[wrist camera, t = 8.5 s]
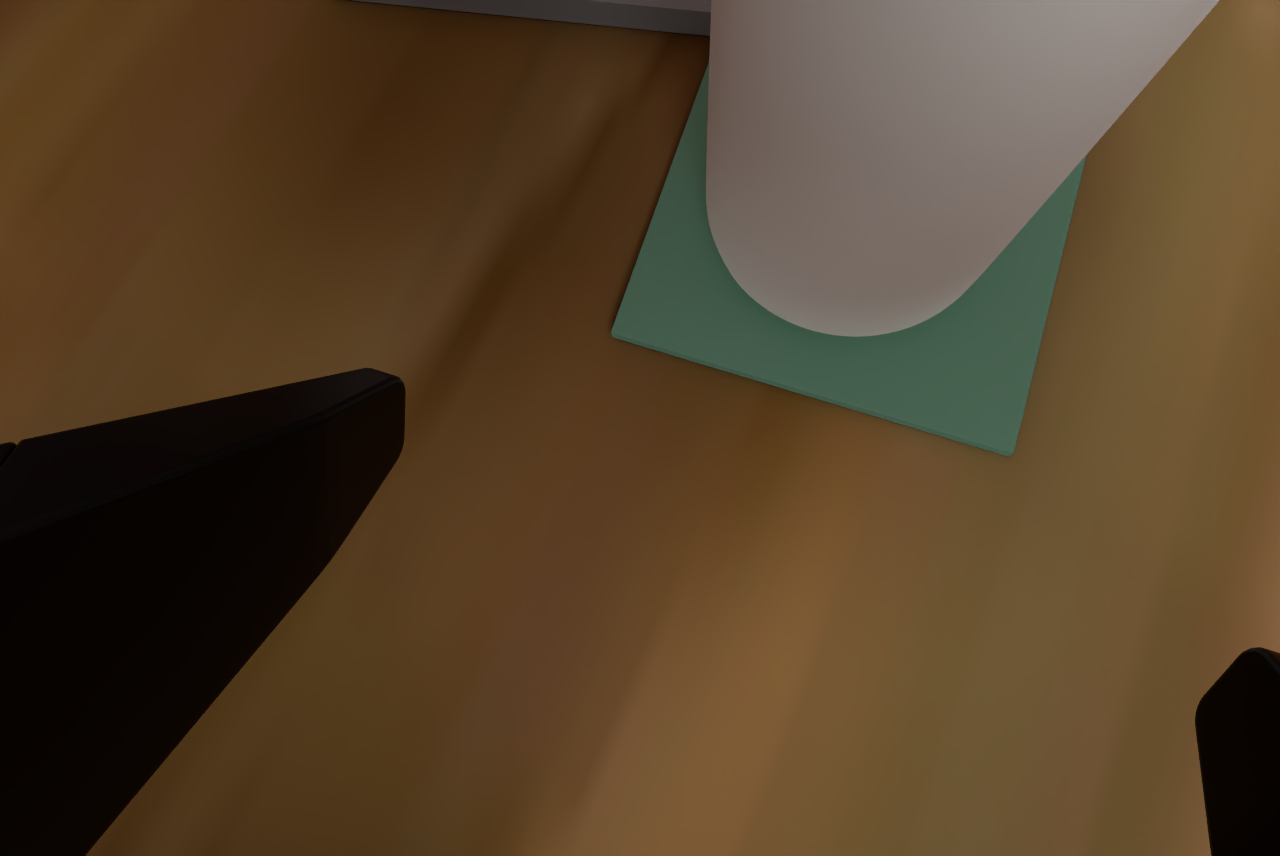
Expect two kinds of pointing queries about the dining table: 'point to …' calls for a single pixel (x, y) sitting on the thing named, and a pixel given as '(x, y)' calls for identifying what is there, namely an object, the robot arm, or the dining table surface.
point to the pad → (843, 365)
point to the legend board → (590, 12)
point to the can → (906, 139)
